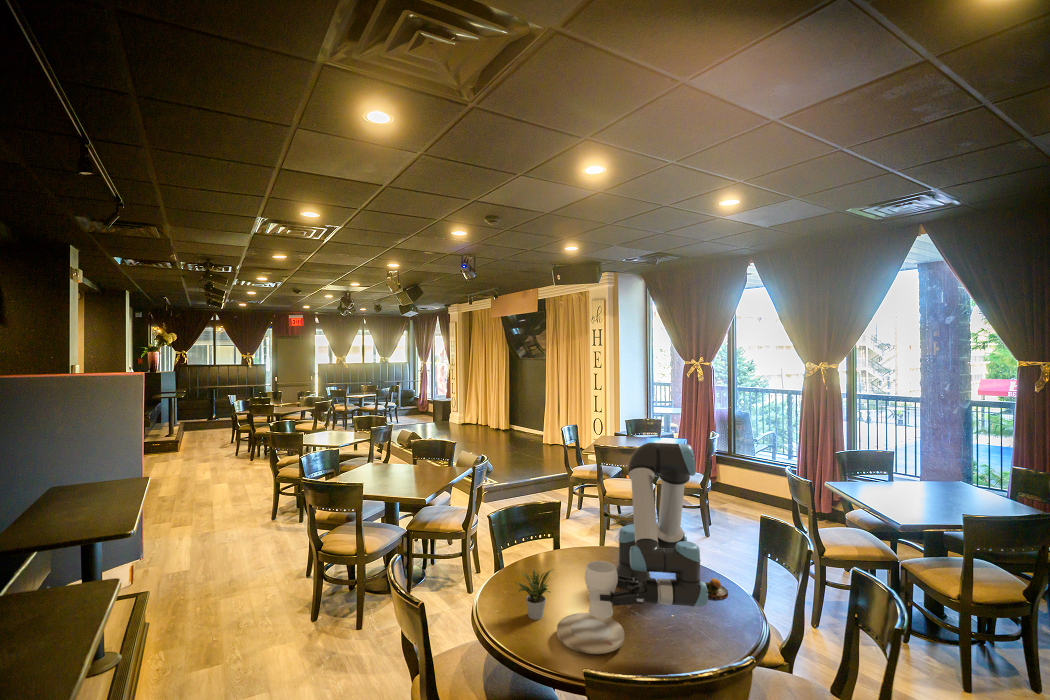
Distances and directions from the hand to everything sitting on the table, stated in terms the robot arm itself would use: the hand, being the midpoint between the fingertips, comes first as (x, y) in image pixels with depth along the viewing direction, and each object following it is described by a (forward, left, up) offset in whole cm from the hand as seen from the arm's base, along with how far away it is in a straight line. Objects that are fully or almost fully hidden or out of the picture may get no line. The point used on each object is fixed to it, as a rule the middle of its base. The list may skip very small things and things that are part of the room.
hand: (588, 587), depth 166 cm
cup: (+2, +3, -8) cm, 9 cm away
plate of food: (-2, +65, -18) cm, 68 cm away
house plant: (-23, -5, -18) cm, 30 cm away
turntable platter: (0, +1, -16) cm, 16 cm away
